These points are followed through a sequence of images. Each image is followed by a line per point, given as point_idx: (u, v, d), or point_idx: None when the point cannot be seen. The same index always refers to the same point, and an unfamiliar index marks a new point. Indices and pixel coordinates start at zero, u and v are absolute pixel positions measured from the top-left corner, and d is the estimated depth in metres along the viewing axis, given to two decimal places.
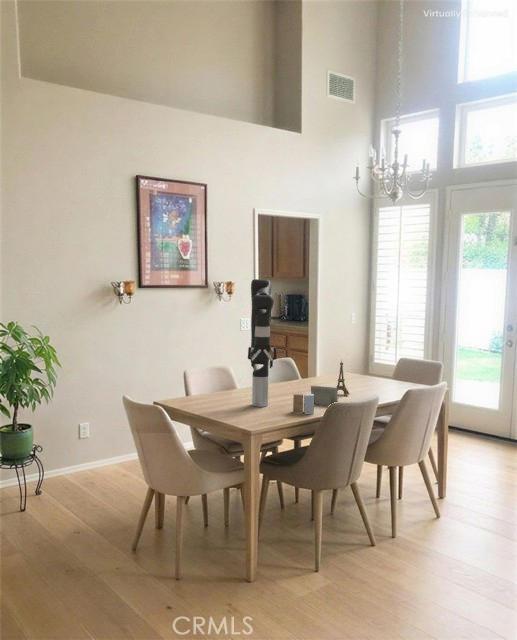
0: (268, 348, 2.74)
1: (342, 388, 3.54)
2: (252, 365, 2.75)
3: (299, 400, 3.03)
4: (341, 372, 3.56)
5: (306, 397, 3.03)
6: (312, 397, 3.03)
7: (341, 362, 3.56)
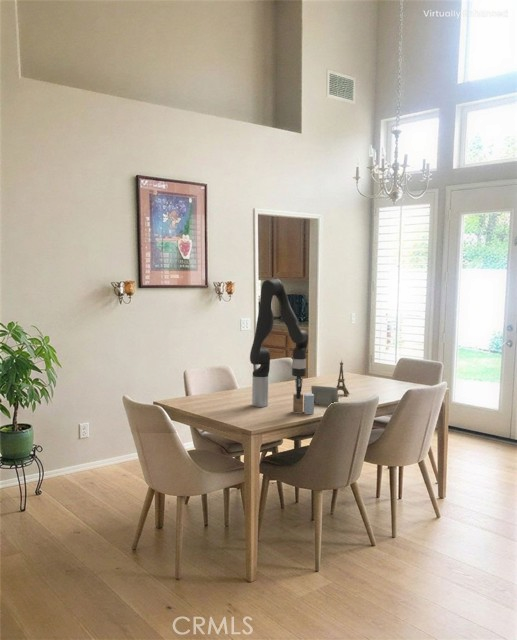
0: None
1: (342, 388, 3.54)
2: (299, 396, 3.01)
3: (299, 400, 3.03)
4: (341, 372, 3.56)
5: (306, 397, 3.03)
6: (312, 397, 3.03)
7: (341, 362, 3.56)
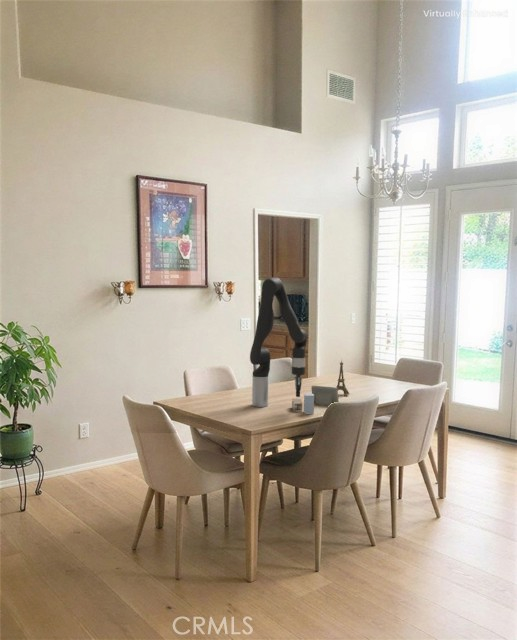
0: None
1: (342, 388, 3.54)
2: (299, 394, 3.06)
3: (298, 399, 3.15)
4: (341, 372, 3.56)
5: (306, 397, 3.03)
6: (312, 397, 3.03)
7: (341, 362, 3.56)
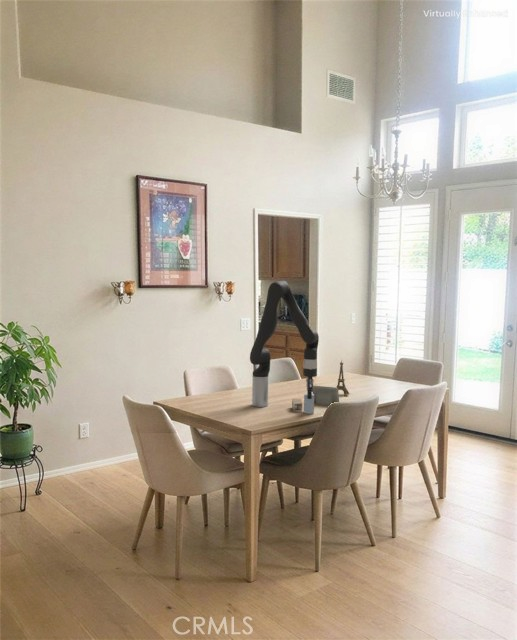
0: None
1: (342, 388, 3.54)
2: (310, 396, 3.01)
3: (298, 399, 3.15)
4: (341, 372, 3.56)
5: (306, 397, 3.03)
6: (312, 397, 3.03)
7: (341, 362, 3.56)
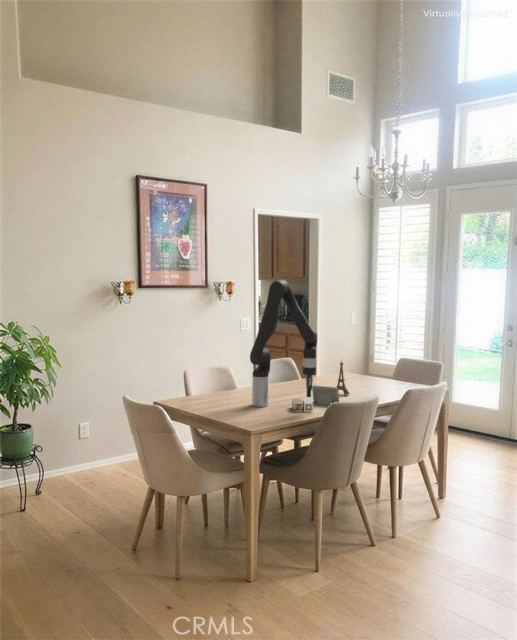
0: None
1: (342, 388, 3.54)
2: (310, 394, 3.06)
3: (298, 399, 3.15)
4: (341, 372, 3.56)
5: (304, 399, 3.17)
6: (310, 399, 3.17)
7: (341, 362, 3.56)
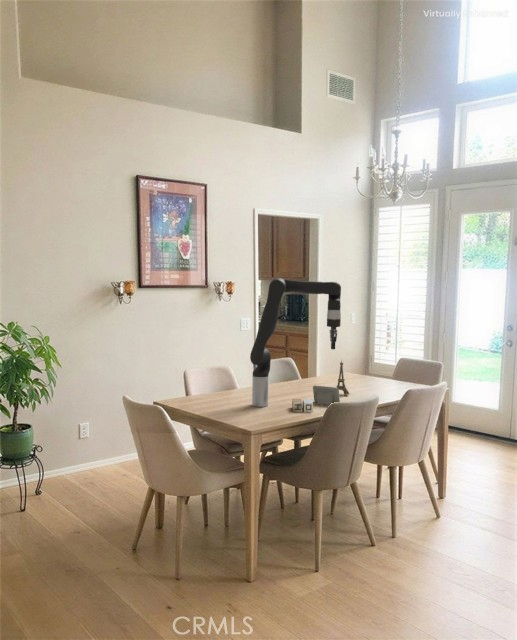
0: None
1: (342, 388, 3.54)
2: None
3: (298, 400, 3.15)
4: (341, 372, 3.56)
5: (304, 399, 3.17)
6: (310, 399, 3.17)
7: (341, 362, 3.56)
